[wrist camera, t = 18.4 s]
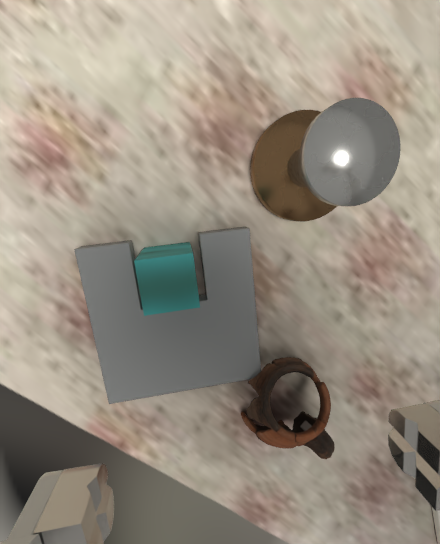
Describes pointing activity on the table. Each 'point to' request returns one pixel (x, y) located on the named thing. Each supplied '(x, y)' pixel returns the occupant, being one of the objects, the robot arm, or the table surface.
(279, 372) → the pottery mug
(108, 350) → the notched board
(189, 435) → the table surface
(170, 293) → the block
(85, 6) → the table surface
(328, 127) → the bobbin post
